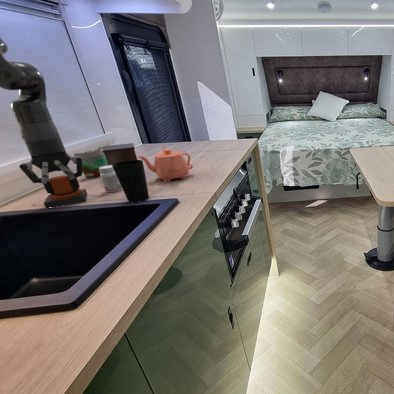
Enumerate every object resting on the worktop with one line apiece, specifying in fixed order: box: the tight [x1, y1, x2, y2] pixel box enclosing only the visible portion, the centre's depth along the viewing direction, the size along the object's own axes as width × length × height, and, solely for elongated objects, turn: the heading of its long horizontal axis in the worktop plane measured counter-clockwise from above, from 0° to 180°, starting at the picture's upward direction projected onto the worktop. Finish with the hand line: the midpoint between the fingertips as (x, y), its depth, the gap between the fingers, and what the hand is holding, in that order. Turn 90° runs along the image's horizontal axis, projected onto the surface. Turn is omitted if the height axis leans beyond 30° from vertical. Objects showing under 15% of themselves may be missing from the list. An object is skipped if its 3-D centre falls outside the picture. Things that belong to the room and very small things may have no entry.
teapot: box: [136, 147, 194, 183], centre depth 111 cm, size 14×14×11 cm
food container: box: [73, 146, 108, 179], centre depth 115 cm, size 12×6×10 cm, turn 179°
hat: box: [48, 174, 82, 200], centre depth 90 cm, size 8×8×6 cm
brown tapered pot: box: [102, 142, 138, 165], centre depth 112 cm, size 9×9×12 cm
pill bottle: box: [99, 165, 123, 193], centre depth 99 cm, size 5×5×8 cm
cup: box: [112, 159, 150, 203], centre depth 90 cm, size 8×8×12 cm
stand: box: [43, 188, 88, 209], centre depth 91 cm, size 9×8×2 cm
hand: (64, 191), depth 90 cm, fingers closed on hat, 4 cm apart
